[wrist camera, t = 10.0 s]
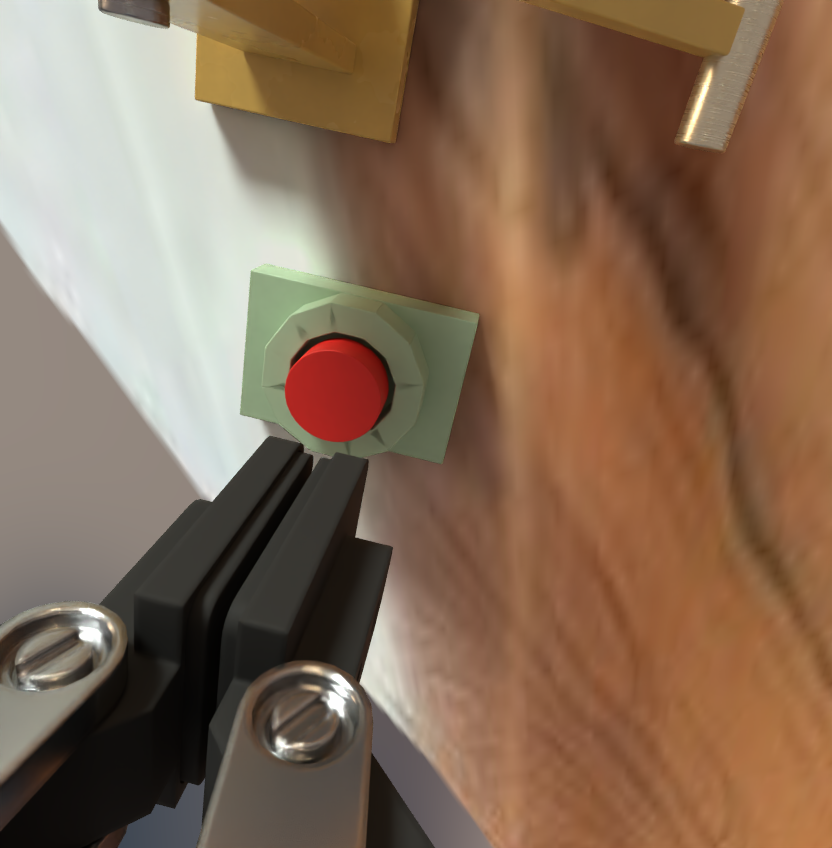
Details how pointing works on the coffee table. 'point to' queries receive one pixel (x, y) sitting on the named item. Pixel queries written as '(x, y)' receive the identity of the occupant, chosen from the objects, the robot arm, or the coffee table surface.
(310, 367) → the stop button
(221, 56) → the bracket
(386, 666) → the coffee table surface
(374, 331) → the button box
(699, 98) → the tap lever
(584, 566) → the coffee table surface
